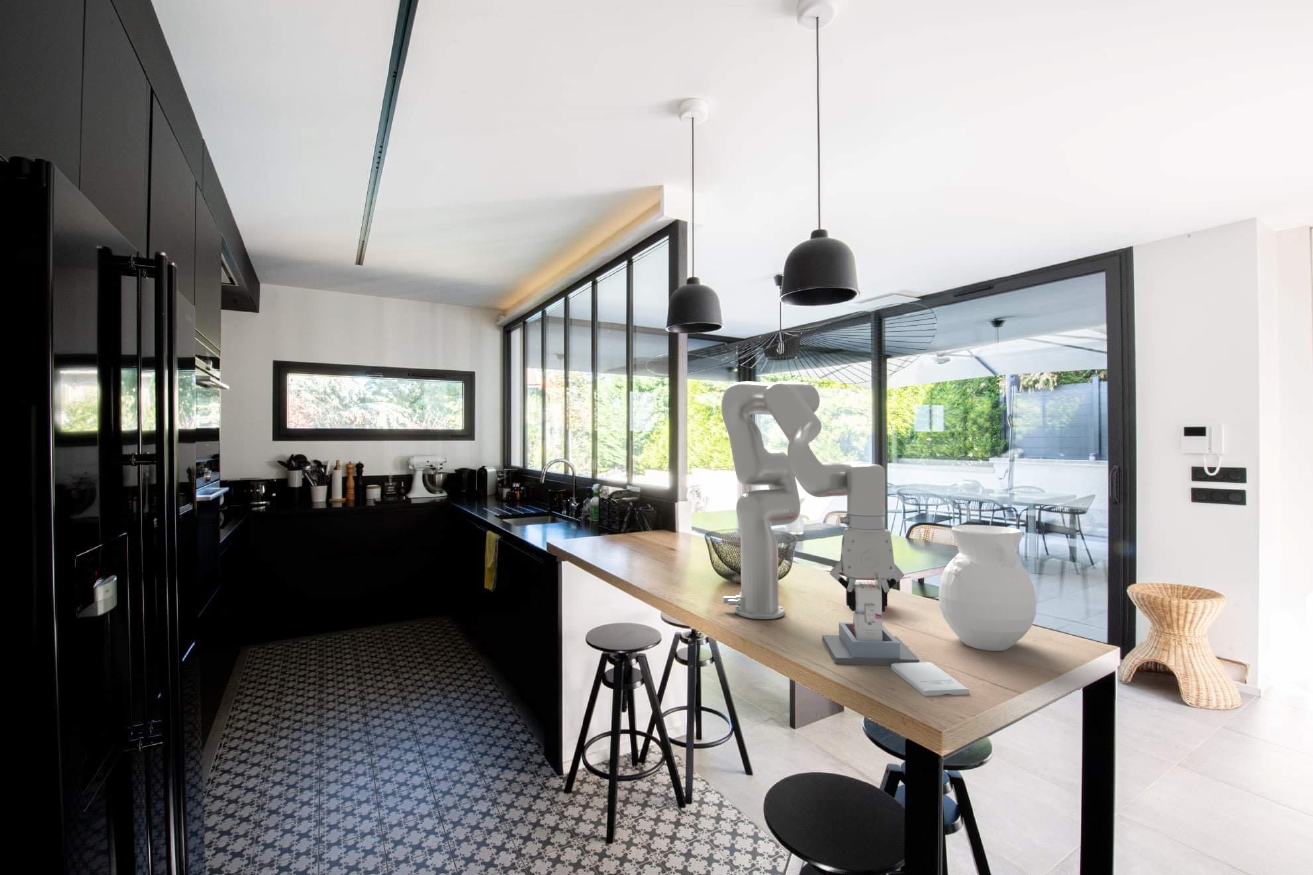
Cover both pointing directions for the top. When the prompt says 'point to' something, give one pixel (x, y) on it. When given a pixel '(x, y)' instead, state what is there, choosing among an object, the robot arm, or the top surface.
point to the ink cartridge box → (868, 610)
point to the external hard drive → (929, 679)
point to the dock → (867, 648)
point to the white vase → (987, 588)
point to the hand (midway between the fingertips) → (866, 608)
